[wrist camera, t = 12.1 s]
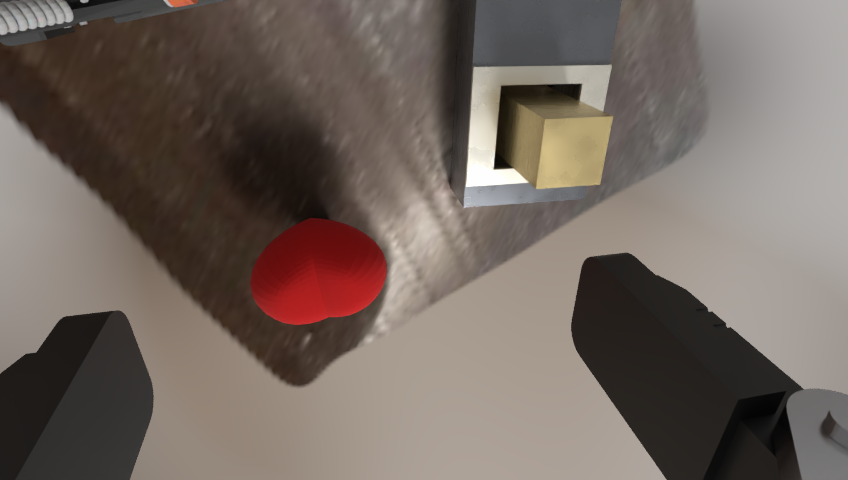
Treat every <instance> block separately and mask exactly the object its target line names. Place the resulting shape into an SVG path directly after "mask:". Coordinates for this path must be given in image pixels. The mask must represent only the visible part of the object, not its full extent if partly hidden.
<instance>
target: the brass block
mask: <svg viewBox="0 0 848 480" xmlns="http://www.w3.org/2000/svg"><path fill="white" fill-rule="evenodd" d="M612 120H613V116H611V115H609V114H607V113H605V112H603V111H600V110H598V109H596V108H594V107H592V106H589V105H587V104H585V103H583V102H581V101H578V100H576V99H574V98H572V97H570V96H567V95H565V94H563V93H561V92H559V91H557V90H554V89H552V88H550V87H548V86H546V85H519V86H501V91H500V102H499V113H498V124H497V135H496V146H495V151H496V152H497V153H498V154H499V155H500V156H501V157H502V158H503V159H504V160H505V161H506V162H507V163H508V164H509V165H511V166H512V167H513V168H514V169H515V170H516V171H517V172H518V173H519V174H520V175H521V176H522V177H523V178H525V179H526V180H527V181H528V182H529V183H530V184H531V185H532V186H533V187H534V188H535V189H545V188H559V187H573V186H587V185H600V181H601V176H602V171H603V166H604V161H605V156H606V150H607V145H608V140H609V135H610V130H611V125H612Z"/></svg>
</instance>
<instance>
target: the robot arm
mask: <svg viewBox="0 0 848 480" xmlns="http://www.w3.org/2000/svg"><path fill="white" fill-rule="evenodd" d="M571 331H572V337H573V342H574V345H575V348H576V350H577V352H578V354H579V355H580V357H581V358H582V360H583V361H584V362H585V364H586V365H587V367H588V368H589V370H590V371H591V372H592V374H593V375H594V377H595V378H596V379H597V381H598V382H599V384H600V385H601V387H602V388H603V390H604V391H605V392H606V394H607V395H608V397H609V398H610V399H611V401H612V402H613V404H614V405H615V407H616V408H617V409H618V411H619V412H620V414H621V415H622V416H623V418H624V419H625V421H626V422H627V424H628V425H629V427H630V428H631V429H632V431H633V432H634V433H635V435H636V436H637V438H638V439H639V441H640V442H641V444H642V445H643V446H644V448H645V449H646V451H647V452H648V454H649V455H650V456H651V458H652V459H653V461H654V462H655V463H656V465H657V466H658V468H659V469H660V471H661V472H662V474H663V475H664V476H665V478H666V479H667V480H848V395H846V394H843V393H839V392H835V391H831V390H825V389H805V390H804V389H803V388H801V386H799V385H798V384H797V383H796V382H795V381H793V380H792V379H791V378H790V377H789V376H788V375H786V374H785V373H784V372H783V371H782V370H780V369H779V368H778V367H777V366H776V365H775V364H773V363H772V362H771V361H770V360H769V359H767V358H766V357H765V356H764V355H763V354H762V353H760V352H759V351H758V350H757V349H755V348H754V347H753V346H752V345H751V344H750V343H749V342H747V341H746V340H745V339H744V338H743V337H741V336H740V335H739V334H738V333H737V332H736V331H734V330H733V329H732V328H731V327H730V328H727V327H726V323H725V322H724V321H723V320H721V319H720V318H719V317H718V316H717V315H716V314H714V313H713V312H708V309H707V307H706V306H705V305H704V304H702V303H701V302H700V301H699V300H698V299H696V298H695V297H694V296H693V295H692V294H691V293H690V292H688V291H687V290H686V289H684V288H682V287H680V286H678V285H676V284H674V283H672V282H670V281H668V280H666V279H664V278H662V277H660V276H658V275H655V274H654V273H653V272H652V271H650V270H649V269H648V268H647V267H646V266H645V265H644V264H642V263H641V262H640V261H639V260H638V259H637V258H636V257H634V256H633V255H632V254H629V253H620V254H611V255H602V256H594V257H589V258H587V259H586V260H585V261H584V263H583V265H582V269H581V274H580V279H579V284H578V290H577V295H576V301H575V306H574V311H573V317H572V323H571ZM152 411H153V388H152V382H151V379H150V376H149V373H148V371H147V368H146V365H145V363H144V360H143V357H142V355H141V352H140V349H139V347H138V344H137V342H136V339H135V336H134V334H133V331H132V328H131V326H130V323H129V321H128V319H127V317H126V315H125V314H124V313H123V312H121V311H109V312H100V313H92V314H83V315H74V316H66V317H63V318H62V319H61V320H60V321H59V322H58V323H57V324H56V326H55V327H54V328H53V330H52V331H51V333H50V334H49V336H48V337H47V338H46V340H45V341H44V342H43V344H42V345H41V347H40V348H39V350H38V351H37V352H36V353H30V354H25V355H24V356H23V357H21V358H20V359H19V360H17V361H16V362H15V363H14V364H12V365H11V366H10V367H8V368H7V369H6V370H4V371H3V372H2V373H1V374H0V480H130V477H131V474H132V471H133V468H134V465H135V463H136V460H137V457H138V454H139V451H140V448H141V446H142V443H143V440H144V437H145V434H146V431H147V428H148V426H149V423H150V420H151V416H152Z"/></svg>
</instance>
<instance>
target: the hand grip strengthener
mask: <svg viewBox="0 0 848 480" xmlns="http://www.w3.org/2000/svg"><path fill="white" fill-rule="evenodd" d="M221 1H226V0H0V42H1V43H3V44H4V45H8V46H15V45H20V44H25V43H31V42H36V41H41V40H46V39H49V38H53V37H56V36H60V35H63V34H67V33H71V32H75V31H74V29H73V27H72V26H74V25H77V24H78V23H80V25H84V24H88V23H87V21H90V20H96V19H101V18H106V17H111V16H113V18H114V21H115V23H121V22H126V21H131V20H135V19H140V18H145V17H150V16H155V15H160V14H164V13H169V12H174V11H178V10H183V9H188V8H193V7H197V6H202V5H207V4H212V3H217V2H221Z"/></svg>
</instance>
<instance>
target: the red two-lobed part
mask: <svg viewBox="0 0 848 480" xmlns="http://www.w3.org/2000/svg"><path fill="white" fill-rule="evenodd" d="M386 273H387V264H386V260H385V257H384V254H383V252H382V250H381V249H380V248H379V246H378V245H377V244H376V242H374V241H373V240H372V239H371V238H370V237H369V236H368V235H366V234H365V233H363V232H361V231H359V230H358V229H356V228H354V227H351V226H349V225H347V224H344V223H340V222H337V221H333V220H327V219H319V218H309V219H307V220H304V221H302V222H300V223H298V224H296V225H294V226H292V227H291V228H289V229H287V230H286V231H284V232H283V233H282V234H280V235H279V236H278V237H276V238H275V239H274V240H273V241H272V242H271V243H270V244H269V245H268V246H267V247H266V248H265V250H264V251H263V252H262V254H261V255H260V256H259V258H258V259H257V262H256V264H255V266H254V268H253V271H252V276H251V282H250V284H251V291H252V295H253V298H254V299H255V301H256V303H257V305H258V306H259V307H260V308H261V309H262V310H263V311H264V312H265V313H266V314H267V315H269V316H270V317H272V318H274V319H276V320H278V321H280V322H284V323H287V324H296V325H300V324H309V323H313V322H317V321H320V320H323V319H325V318H327V317H341V316H347V315H350V314H353V313H356V312H358V311H360V310H362V309H363V308H365V307H367V306H368V305H369V304H370V303H371V302H372V301H373V300H374V299H375V298H376V297H377V295H378V294H379V292H380V291H381V289H382V287H383V285H384V281H385V278H386Z"/></svg>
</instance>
